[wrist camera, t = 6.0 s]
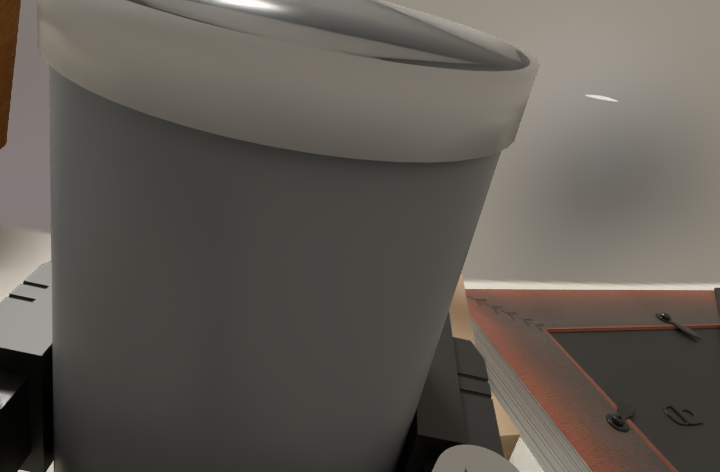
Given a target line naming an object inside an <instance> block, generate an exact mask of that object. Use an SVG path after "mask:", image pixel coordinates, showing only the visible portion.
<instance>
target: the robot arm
mask: <svg viewBox="0 0 720 472" xmlns="http://www.w3.org/2000/svg"><path fill="white" fill-rule="evenodd" d="M491 396H492V394H491V389H490V384H489V383H488V374H487V369H486V364H485V359H484V358H483V357H482V355H481V354H480V353H479V351H478V350H477V349H476V347H475V346H474V344H473V343H472V342H471V340H466V339H461V338H457V337H453V336H452V328H451V321H450V313H449V311H448V314H447V317H446V320H445V323H444V326H443V329H442V332H441V336H440V339H439V342H438V345H437V348H436V351H435V354H434V357H433V360H432V363H431V366H430V369H429V372H428V375H427V378H426V381H425V384H424V387H423V390H422V393H421V396H420V399H419V402H418V405H417V408H416V411H415V415H414V418H413V421H412V424H411V427H410V430H409V433H408V436H407V439H406V442H405V445H404V448H403V451H402V454H401V457H400V460H399V463H398V466H397V469H396V472H519V471H518V470H517V468H516V467H515V466H514V465H513V464H511V463H510V462H509V461H508V460H507V459H505V458H504V454H503V449H502V444H501V439H500V434H499V429H498V424H497V419H496V414H495V409H494V404H493V399H491ZM53 460H54V435H53V349H52V264H51V261H50V262H47V263H45V264H42V265H41V266H39V267H38V268H37V269H36V270H35V271H34V272H33V273H32V274H31V275H30V276H28V277H27V278H26V279H25V280H24V283H23V284H20V285H19V286H17V287H16V288H15V289H14V290H13V291H12V292H11V293H10V295H9V297H5V298H4V299H3V300H2V301H1V302H0V472H17V471H18V470H24V471H30V472H46V471H47V469H48V468H49V466H50V465H51V463H52V462H53Z"/></svg>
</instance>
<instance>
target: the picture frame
mask: <svg viewBox="0 0 720 472" xmlns="http://www.w3.org/2000/svg"><path fill="white" fill-rule="evenodd" d="M465 293H466V299H467V304H468V310H469V315H470V321H471V326H472V331H473V337H474V342H475V347H476V349H477V350H478V351H479V353H480V354H481V355H482V357H483V358H484V359H485V364H486V369H487V374H488V383H489V384H490V389H491V391H492V392H493V394H494V396H495V397H496V399H497V400H498V402H499V403H500V405H501V406H502V408H503V409H504V411H505V412H506V414H507V415H508V417H509V418H510V420H511V421H512V423H513V424H514V426H515V427H516V429H517V430H518V432H519V433H520V437H521V438H522V440H523V441H524V443H525V444H526V446H527V447H528V448H529V450H530V451H531V453H532V454H533V456H534V457H535V458H536V460H537V461H538V463H539V464H540V466H541V467H542V468H543V470H544V471H545V472H720V288H715V289H714V291H712V290H511V289H465Z"/></svg>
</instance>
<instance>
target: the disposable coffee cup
mask: <svg viewBox="0 0 720 472" xmlns="http://www.w3.org/2000/svg"><path fill="white" fill-rule="evenodd" d="M20 1H21V0H0V149H1V148H2V147H4V146H5V144H6V142H7V130H8V120H9V110H10V100H11V90H12V80H13V71H14V70H13V69H14V62H15V55H16V44H17V33H18V23H19V12H20V4H21V2H20Z"/></svg>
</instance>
